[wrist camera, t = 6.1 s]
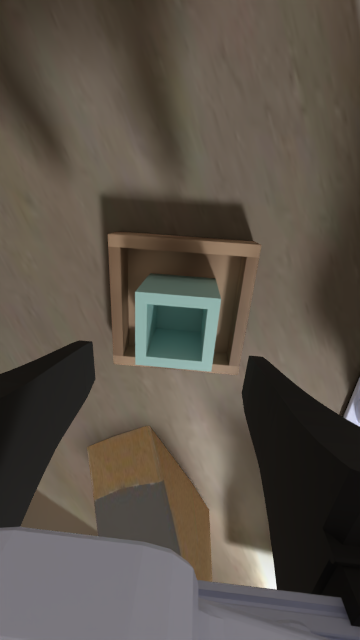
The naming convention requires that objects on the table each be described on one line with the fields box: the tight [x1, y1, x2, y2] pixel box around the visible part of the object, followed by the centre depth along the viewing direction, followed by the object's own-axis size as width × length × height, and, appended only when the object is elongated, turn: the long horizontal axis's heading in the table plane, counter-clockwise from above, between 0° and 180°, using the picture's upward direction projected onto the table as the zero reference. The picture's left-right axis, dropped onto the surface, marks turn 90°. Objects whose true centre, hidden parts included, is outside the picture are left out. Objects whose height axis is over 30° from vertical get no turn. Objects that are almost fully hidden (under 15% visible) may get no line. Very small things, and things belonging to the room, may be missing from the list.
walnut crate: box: [108, 232, 261, 375], centre depth 19 cm, size 10×10×2 cm
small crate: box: [135, 273, 221, 372], centre depth 18 cm, size 5×5×5 cm
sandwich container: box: [87, 426, 212, 582], centre depth 23 cm, size 9×15×15 cm, turn 27°
